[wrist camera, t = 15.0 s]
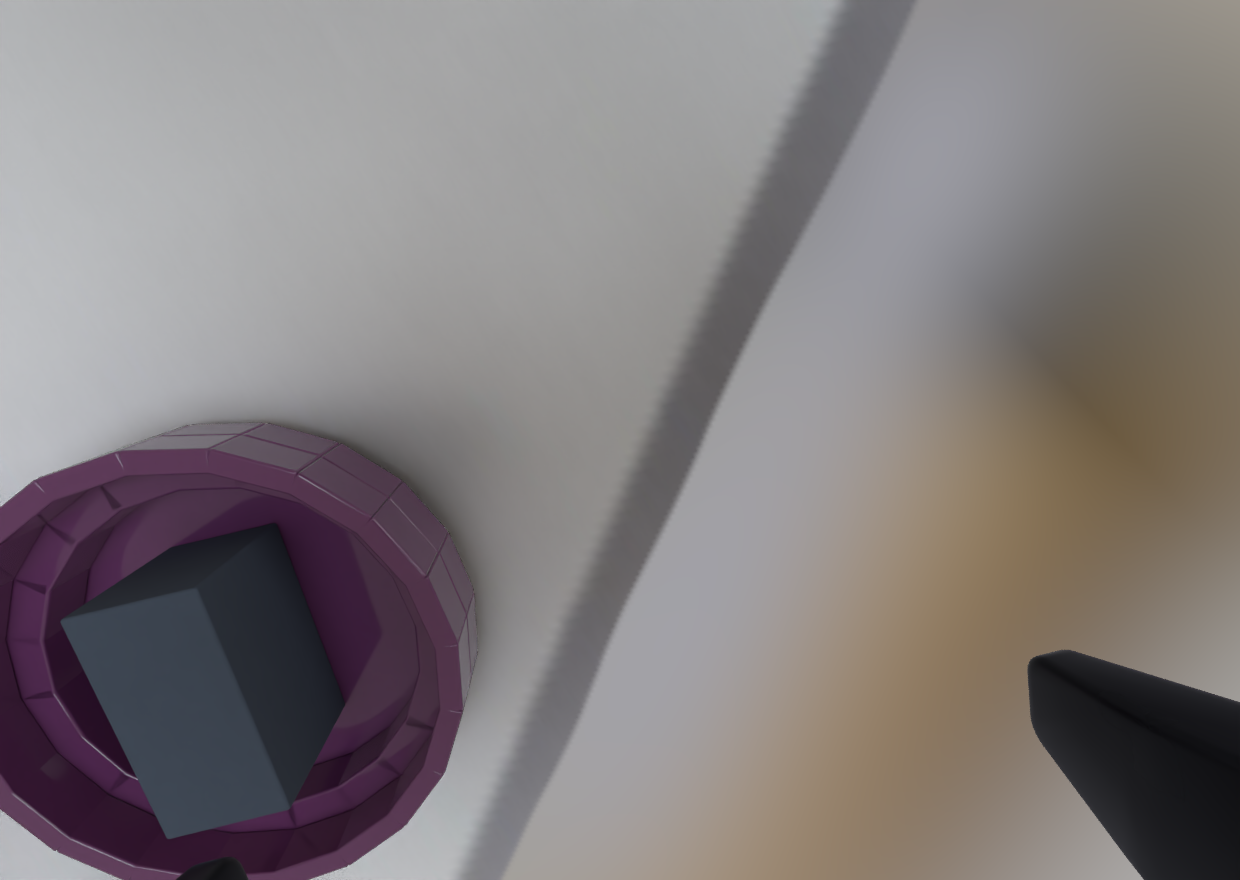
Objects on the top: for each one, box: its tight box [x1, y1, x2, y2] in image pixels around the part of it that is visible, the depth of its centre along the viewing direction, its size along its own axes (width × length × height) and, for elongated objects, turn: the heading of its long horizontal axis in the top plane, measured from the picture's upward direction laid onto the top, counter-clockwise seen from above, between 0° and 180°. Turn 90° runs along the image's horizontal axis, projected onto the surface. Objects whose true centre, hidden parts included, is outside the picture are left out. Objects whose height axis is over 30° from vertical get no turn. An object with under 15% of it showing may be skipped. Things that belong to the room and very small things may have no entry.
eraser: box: [61, 523, 345, 839], centre depth 16 cm, size 6×3×4 cm, turn 12°
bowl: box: [0, 423, 478, 880], centre depth 17 cm, size 12×12×4 cm
